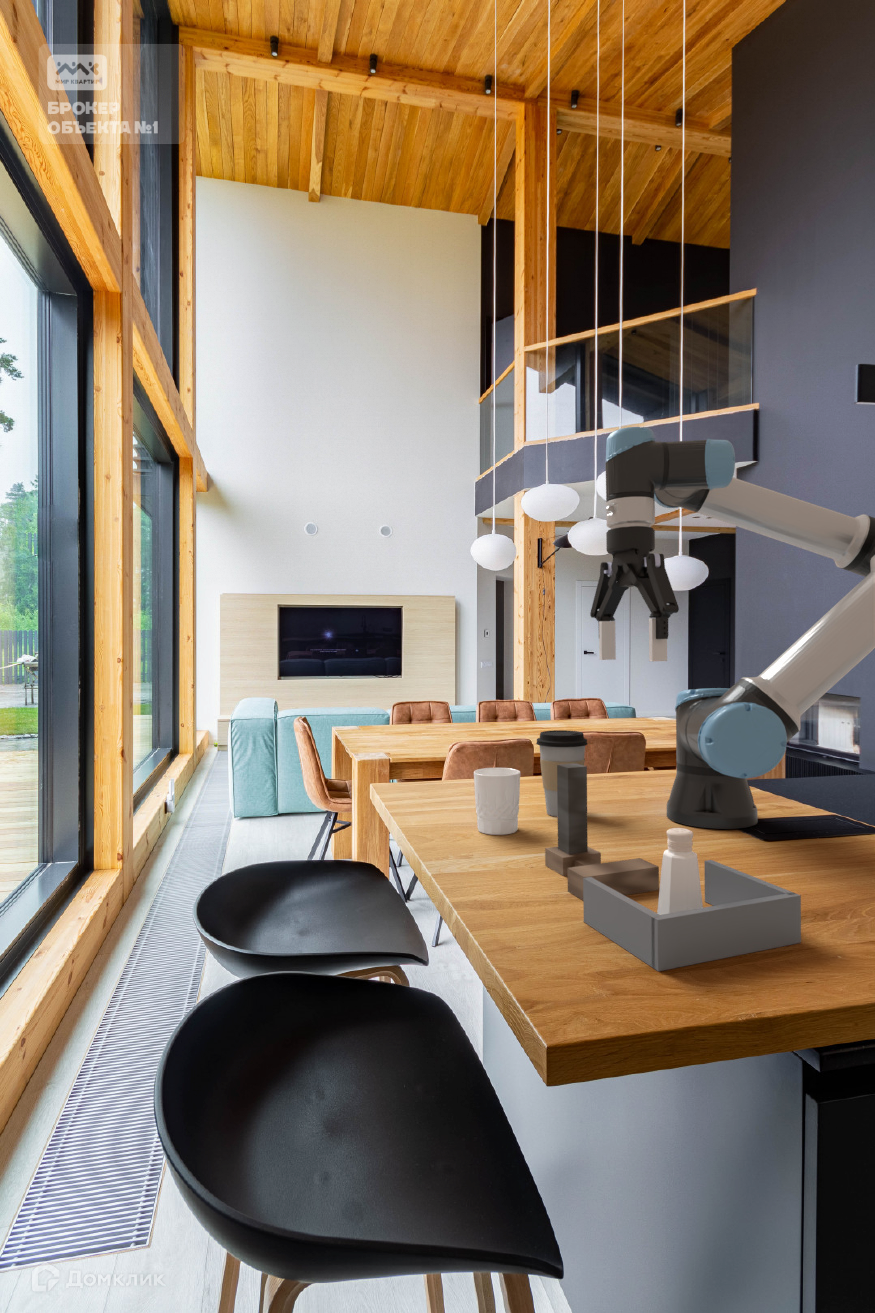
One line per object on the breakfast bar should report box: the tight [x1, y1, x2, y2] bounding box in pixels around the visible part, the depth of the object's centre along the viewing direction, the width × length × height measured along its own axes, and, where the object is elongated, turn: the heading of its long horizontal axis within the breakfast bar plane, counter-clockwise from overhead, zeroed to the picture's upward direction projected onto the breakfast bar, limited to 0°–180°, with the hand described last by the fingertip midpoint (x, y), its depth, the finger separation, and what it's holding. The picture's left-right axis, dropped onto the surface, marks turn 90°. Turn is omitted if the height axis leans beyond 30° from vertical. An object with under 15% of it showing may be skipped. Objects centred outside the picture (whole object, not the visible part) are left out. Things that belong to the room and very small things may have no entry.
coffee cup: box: [535, 729, 588, 818], centre depth 135 cm, size 9×9×15 cm
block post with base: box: [544, 763, 660, 901], centre depth 98 cm, size 11×14×14 cm
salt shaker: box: [656, 827, 704, 915], centre depth 80 cm, size 5×5×11 cm
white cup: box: [473, 767, 521, 836], centre depth 124 cm, size 8×8×10 cm
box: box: [582, 859, 802, 972], centre depth 80 cm, size 18×14×5 cm
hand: (631, 660), depth 117 cm, fingers open, 13 cm apart
